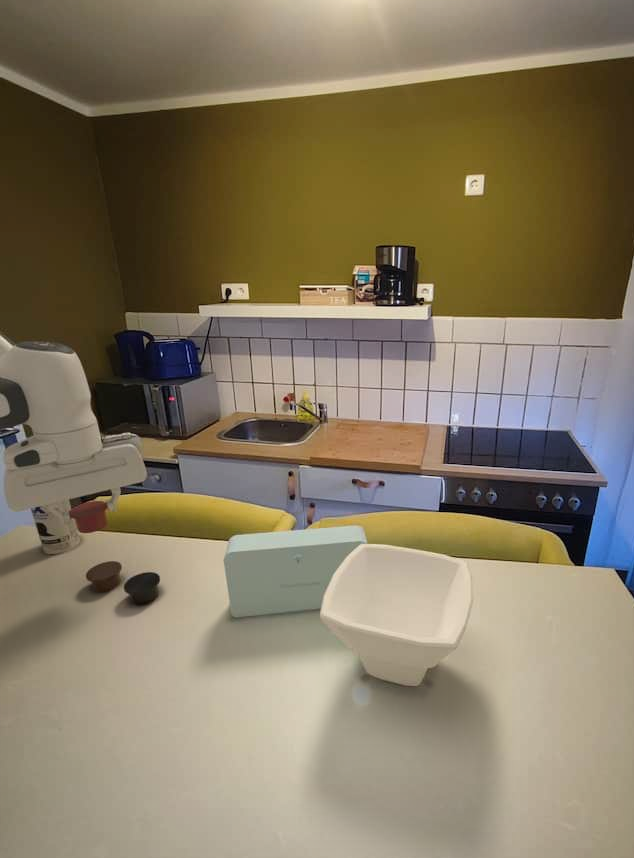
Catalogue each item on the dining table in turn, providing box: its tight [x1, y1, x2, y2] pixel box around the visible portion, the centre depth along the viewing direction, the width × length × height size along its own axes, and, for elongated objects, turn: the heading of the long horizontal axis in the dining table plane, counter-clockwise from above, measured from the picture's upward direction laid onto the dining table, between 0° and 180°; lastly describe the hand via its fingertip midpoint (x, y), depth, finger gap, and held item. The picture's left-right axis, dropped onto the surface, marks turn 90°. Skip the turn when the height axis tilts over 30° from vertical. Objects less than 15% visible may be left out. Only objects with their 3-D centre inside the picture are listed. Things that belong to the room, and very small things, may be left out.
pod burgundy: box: [69, 500, 109, 534], centre depth 76 cm, size 6×6×4 cm
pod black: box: [123, 571, 161, 606], centre depth 76 cm, size 6×6×4 cm
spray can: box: [30, 499, 81, 555], centre depth 90 cm, size 7×7×20 cm
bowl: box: [319, 543, 474, 687], centre depth 61 cm, size 19×19×14 cm
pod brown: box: [85, 560, 123, 593], centre depth 80 cm, size 6×6×4 cm
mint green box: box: [223, 524, 369, 618], centre depth 73 cm, size 23×6×13 cm, turn 98°
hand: (90, 516), depth 75 cm, fingers closed on pod burgundy, 6 cm apart
